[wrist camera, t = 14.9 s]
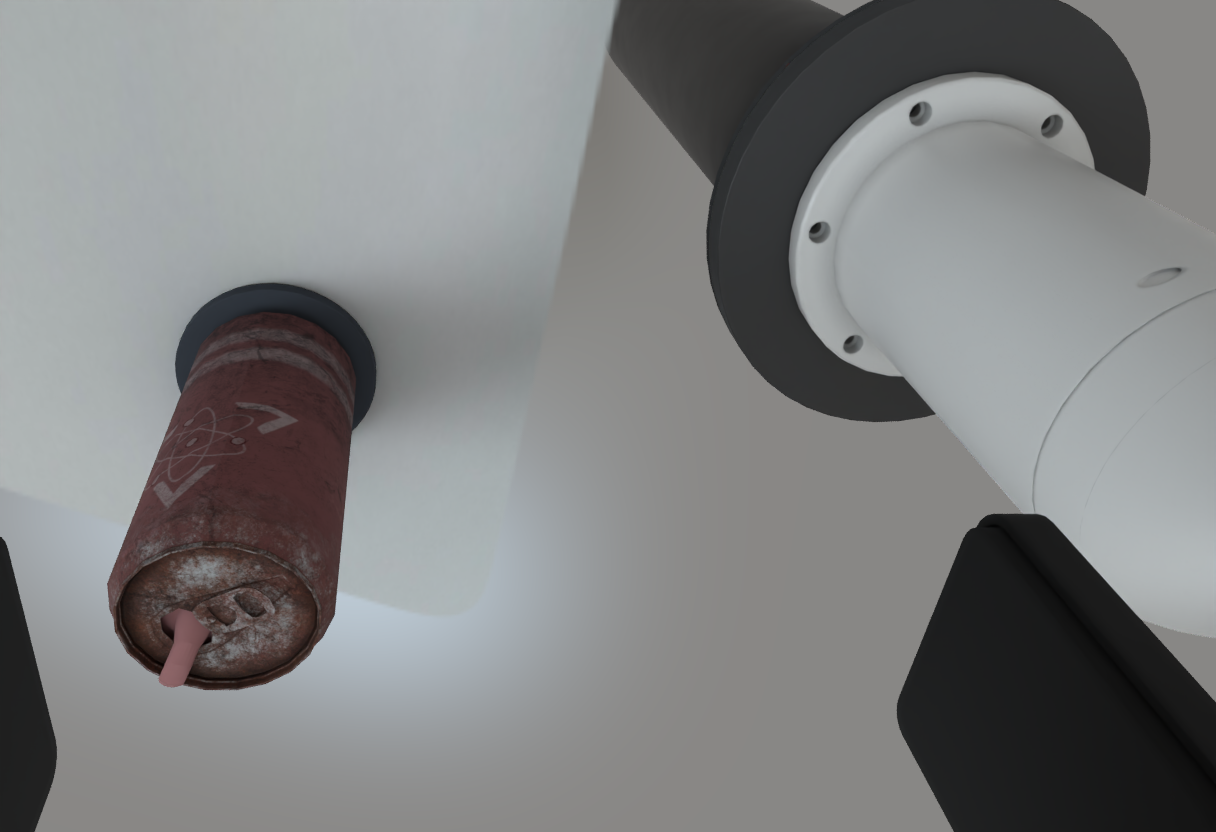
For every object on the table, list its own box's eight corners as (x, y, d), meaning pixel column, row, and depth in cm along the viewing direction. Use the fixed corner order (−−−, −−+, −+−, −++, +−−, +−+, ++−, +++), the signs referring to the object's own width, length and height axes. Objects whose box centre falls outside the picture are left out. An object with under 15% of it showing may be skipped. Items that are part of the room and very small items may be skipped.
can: (172, 413, 38) (67, 679, 26) (226, 281, 36) (137, 510, 24) (320, 463, 40) (283, 727, 29) (380, 342, 38) (368, 577, 26)
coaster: (376, 287, 37) (376, 294, 37) (376, 449, 41) (375, 456, 41) (168, 278, 36) (164, 284, 35) (187, 447, 40) (185, 455, 39)
